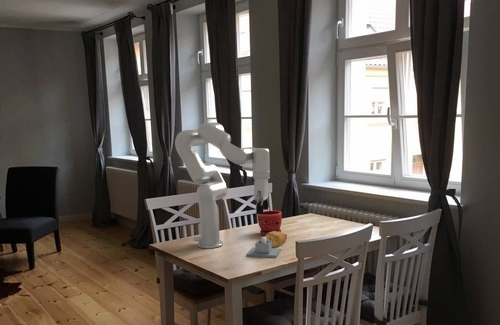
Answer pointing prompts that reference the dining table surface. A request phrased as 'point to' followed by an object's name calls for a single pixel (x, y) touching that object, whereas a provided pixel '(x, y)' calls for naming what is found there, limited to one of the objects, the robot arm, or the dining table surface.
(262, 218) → the plant pot
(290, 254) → the dining table surface
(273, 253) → the keeper
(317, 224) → the dining table surface
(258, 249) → the grey hollow block
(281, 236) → the croissant
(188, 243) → the dining table surface
